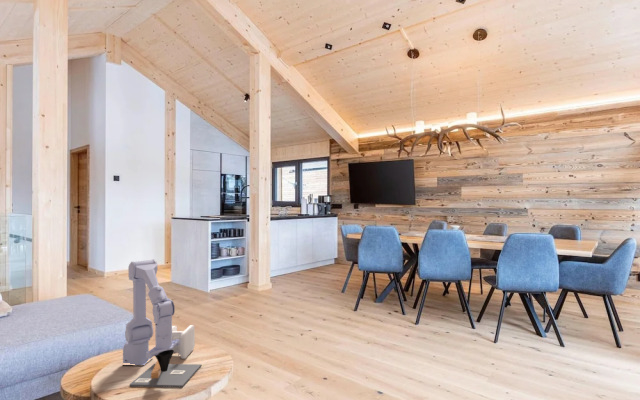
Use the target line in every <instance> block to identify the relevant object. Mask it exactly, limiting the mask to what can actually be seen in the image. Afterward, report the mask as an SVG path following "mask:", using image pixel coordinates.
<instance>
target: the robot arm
mask: <svg viewBox="0 0 640 400" xmlns="http://www.w3.org/2000/svg"><path fill="white" fill-rule="evenodd" d="M158 267H159V266H158V262H157V261H156V259H148V260H141V261H140V260H138V261H137V260H136V261H131V262H130V263H129V265H128V269H127V270H128V280H129V281H132V286H133V287H132V291H133V294H132V296H133V297H132V299H133V300H132V306H133V307H132V308H133V309H132V310H133V315H132V317H133V318H132V319H131V320H129V322H127V323H126V324H125V325H126V326H125V331H124V338H125V341H126V342H125V343H124V345H123V348H122V364H123V363H130V364H135V365H144V366H146V365H147V364H148V363H147V361H148V360H149V359H151V358H152V357H154V358H155V359H156V360H158V362H159V365H160V368H161V371H164V372H166V371H167V369H168V365H169V364H170V361H171V358H172V357H173V354H175V353H174V350H171V349H173V348H174V347H175V346H177V345H178V346H179V345H180V340H178V339H176V340H173V341H172V326H173V316H174V315H175V311H176V309H175V303H174V301H173V299H171V298H170V297H168V295H167V293H166V291H165V288H164V287H163V286H161V285H159V281H158V277H157V273H158ZM147 288H148V293H147ZM147 295H148V297H149V298H148V299H149V300H150V303H151V305H152V316H153V322H154V323H155V327H153V322H152V319H150V318H148V317H147V298H146V297H147ZM154 328H155V346H153V347H152V348H151V349H150V348H149V345H150V341H151V338H153V335H154ZM149 349H150V350H149ZM146 363H147V364H146ZM145 364H146V365H145Z"/></svg>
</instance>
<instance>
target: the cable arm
mask: <svg viewBox="0 0 640 400" xmlns="http://www.w3.org/2000/svg"><path fill="white" fill-rule="evenodd" d="M156 360H157V359H156ZM154 364H155V367H154V369H153V371H152V373H151V379H154V378H159V375H160V373H161V368H160V365H159V362H158V360H157V361H156V363H154Z"/></svg>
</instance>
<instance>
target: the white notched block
mask: <svg viewBox="0 0 640 400" xmlns="http://www.w3.org/2000/svg"><path fill="white" fill-rule="evenodd" d="M195 334H196V333H195V325H194V324H190V325H188V326H187V328H185V329H184V330H180V331H179V330H178V327H177V325H172V341H173V340H176V339H178V340H180V345H179V346H178V345H177V346H175V347H174V348H173V349H171V350H174V353H173V354H178V355H177V356H179V357H180V359H183V360H186V359H187V357H189V355H190V354H191V353H192V352H193V351H194V348H195V341H196V340H195V339H196V338H195Z"/></svg>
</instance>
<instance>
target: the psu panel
mask: <svg viewBox="0 0 640 400" xmlns="http://www.w3.org/2000/svg"><path fill="white" fill-rule="evenodd" d="M155 364H156V363H153V364H152V365H151V366H150V367H149V368H148V369H146V370H145V371H144V372H143V373H141V374H140V375H139V376H138V377H136V378H135V379H134V380H133V381H132V382H131V383H129V387H130V386H131V387H134V388H136V387H137V388H138V387H139V388H140V387H141V388H183V389H184V387H185V386H186V384H188V382H189V381H190V380H191V379H192V378H193V376H194V375H195V374H196V373H197V372H198V371H199V370H200V369H201V368H202V364H193V363H192V364H191V363H189V364H188V363H186V364H185V363H169V365H168V369H167V371H166V372H164V371H161V373H160V375H159V378H154V379H151V373H152V371H153V369H154V367H155ZM131 387H130V388H131Z"/></svg>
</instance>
